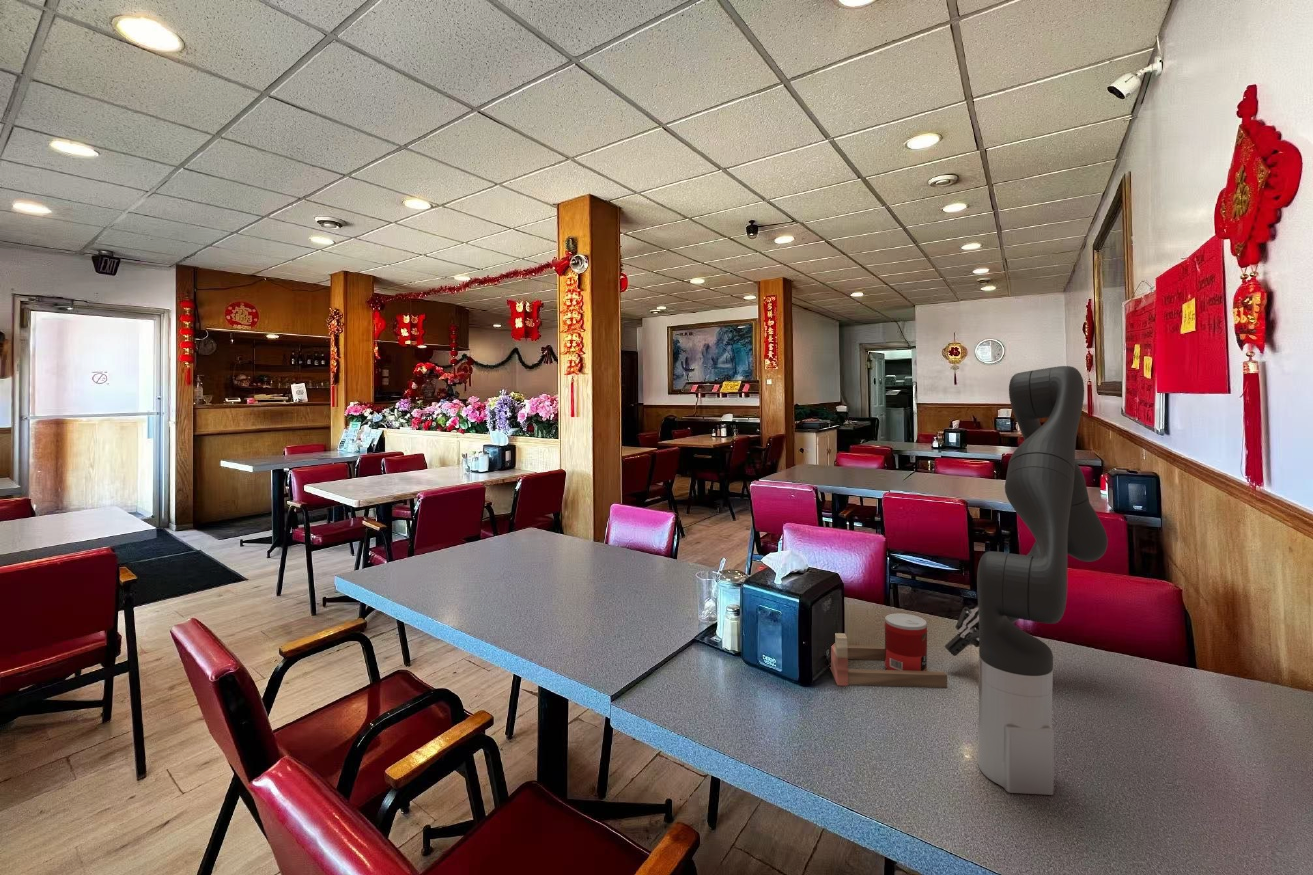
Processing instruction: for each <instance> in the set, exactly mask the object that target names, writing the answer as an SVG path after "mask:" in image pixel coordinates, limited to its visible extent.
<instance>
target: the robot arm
mask: <svg viewBox="0 0 1313 875" xmlns="http://www.w3.org/2000/svg"><path fill="white" fill-rule="evenodd" d="M1084 383H1085V382H1084V379H1083V376H1082V373H1081V372H1080V371H1079V370H1078V368H1075V367H1074V366H1070V365H1060V366H1059V365H1058V366H1054V367H1053V366H1052V367H1046V368H1041V369H1040V368H1039V369H1033V370H1026V371H1020V372H1017V373H1015V374H1013V375H1012V376H1011V378H1010V381H1009V386H1008V398H1009V402H1010V405H1011V410H1012V413H1013V415H1014V418H1015V420H1016V423H1017V425H1018V427H1019V430H1020V433H1021V434H1022V438H1023V440H1024V441H1023V442H1022V443H1020V444H1019V445H1018V447H1017V448H1016V449H1015V450H1014V452H1013V453H1012V454H1011V455H1010V458H1009V460H1008V464H1007V465H1008V466H1007V471H1006V478H1005V484H1004V492H1005V495H1006V498H1007V500H1008V503H1009V504H1010V505H1011V507H1012V508H1013V509H1014V511H1015V512H1016V513H1015V514H1017V516H1019V518H1020V519H1021V521H1022V522H1023V523H1024V524H1025V526H1027V528H1028V530H1029V531H1030V532H1031V534H1032V536H1033V537H1034V539H1035V542H1034V543H1033V546H1032V547H1031V549H1030V551H1029V552H1028V553H1027V554H1026V555H1025V554H1016V553H1010V552H1003V551H993V550H992V551H991V550H989V551H987V552H984V553H983V554H982V555H981V557H980V560H978V566H977V572H976V574H977V575H976V576H977V577H976V588H977V589H976V590H977V604H976V606H974V608H971V609H970V608H969V607H968V606H964V607H963V608H962V610H961V613H960V615H959V617H958V620H957V623H956V625H955V629H956V635H955V636H953V638H952V639H950V640H949V641H948V642H947V643H946V644H945V645H944V648H945V649H946V650H947V651H948V652H949V653H950V654H951V655H952V656H954V657H956V656H958V655H959V654H960V653H961V652H962V651H963V650H964V649H966V648H967V647H968V646H974V647H975V648H978V649H979V650H978V654H979V656H978V716H977V717H978V719H977V720H978V722H977V723H978V725H977V726H978V727H977V730H978V731H977V732H978V733H977V734H978V735H977V737H978V738H977V739H978V743H977V744H978V745H977V746H978V747H977V748H978V750H977V751H978V752H977V754H978V755H977V756H978V758H977V759H978V764H977V765H978V768H979V770H980V771H981V772H982V774H983V775H984V776H985V777H986V778H987V779H989V780H990V781H992V782H993V783H995V784H998V785H999V786H1001V787H1002V788H1004V790H1005V791H1006V792H1007V793H1008V794H1009V793H1011V794H1029V795H1030V794H1031V795H1049V796H1053V795H1054V777H1055V776H1054V775H1055V774H1054V773H1055V772H1054V771H1055V770H1054V769H1055V764H1054V763H1055V730H1054V729H1053V679H1054V678H1053V677H1054V676H1053V675H1054V674H1053V673H1054V672H1053V671H1054V656H1053V652H1052V651H1053V650H1052V649H1051V647H1049V646H1048V645H1047V644H1046V643H1045V642H1044V641H1042V640H1041V639H1039V638H1037V637H1035V636H1033V635H1032V634H1031V633H1027V632H1026V631H1024V630H1023V629H1021V628H1020V627H1018V626H1016V622H1017V621H1019V620H1022V621H1023V620H1024V621H1029V622H1030V621H1031V622H1036V623H1041V624H1049V625H1053V624H1054V625H1055V624H1057V623H1059V622H1060V621H1061V620H1062V618H1063V616H1064V613H1065V611H1066V605H1067V601H1068V599H1067V598H1068V556H1071V557H1072V558H1074V559H1077V560H1078V561H1081V562H1095V561H1098V560H1099V559H1101V558H1102V557H1103V556H1104V555H1105V554H1106V551H1107V549H1108V543H1109V542H1108V536H1107V532H1106V529H1105V527H1104V526H1103V523H1102V520H1100V518H1099V516H1098V514H1097V511H1095V509H1094V507H1093V506H1092V504H1091V502H1090V497H1089V492H1088V489H1087V484H1086V479H1085V476H1084V475H1085V474H1084V473H1083V471H1082V468H1081V467H1080V465H1079V464H1078V463H1077V461H1076V445H1077V436H1078V431H1079V430H1078V429H1079V424H1080V420H1081V416H1082V411H1083V406H1084V399H1085V384H1084ZM1040 419H1046V420H1045V422H1044V423H1043V424H1041V422H1040Z"/></svg>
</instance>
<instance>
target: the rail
mask: <svg viewBox="0 0 1313 875" xmlns="http://www.w3.org/2000/svg"><path fill="white" fill-rule="evenodd" d="M849 660H865V661H866V660H873V661H885V645H863V644H861V645H859V644H857V645H856V644H852V645H851V644H848V637H847V635H846V634H845V632H844V633H841V632H838V633H837V632H836V633H835V643H834V644H833V645H832V646H831V667H829V668H830V671H831V674H832V676H833V678H834V681H835V682H836V684H837V686H842V687H843V686H844V687H845V686H847V687H848V686H849V685H852V686H856V685H857V686H883V687H884V686H885V687H886V686H888V687H916V688H917V687H918V688H946V689H947V688H948V674H947V673H946V672H945V671H942V670H941V671H938V670H934V671H933V670H927V671H907V670H887V669H871V668H869V669H865V668H849Z"/></svg>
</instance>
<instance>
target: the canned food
mask: <svg viewBox="0 0 1313 875" xmlns="http://www.w3.org/2000/svg"><path fill="white" fill-rule="evenodd" d="M884 646H885V660H884V664H885V668H886V669H885V670H907V671H928V624H927V621H926V619H924V618H922V617H920V616H917V615H916V614H915V615H914V614H910V613H902V612H901V613H900V612H899V613H890V614H887V615H886V616H885V617H884Z"/></svg>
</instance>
